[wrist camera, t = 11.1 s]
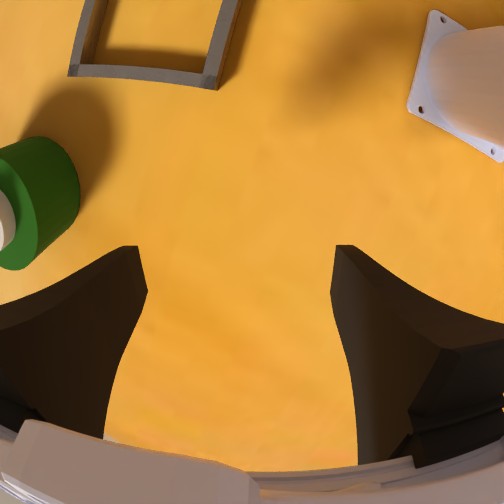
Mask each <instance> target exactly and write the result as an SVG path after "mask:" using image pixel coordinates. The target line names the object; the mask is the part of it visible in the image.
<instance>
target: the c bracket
mask: <svg viewBox="0 0 504 504" xmlns="http://www.w3.org/2000/svg"><path fill="white" fill-rule="evenodd" d="M107 3H108V0H85V3H84V7H83V10H82V13H81V17H80V21H79V24H78V28H77V32H76V37H75V41H74V45H73V50H72V55H71V60H70V65H69V70H68V76H67V77H107V78H123V79H136V80H146V81H155V82H164V83H172V84H179V85H186V86H192V87H199V88H205V89H210V90H218V87H219V83H220V79H221V75H222V71H223V67H224V64H225V60H226V56H227V52H228V48H229V45H230V41H231V37H232V34H233V30H234V27H235V23H236V20H237V17H238V13H239V10H240V6H241V3H242V0H223V1H222V5H221V8H220V11H219V14H218V18H217V21H216V25H215V28H214V32H213V35H212V39H211V43H210V46H209V50H208V54H207V58H206V62H205V66H204V70H203V74H199V73H193V72H186V71H178V70H170V69H161V68H151V67H139V66H124V65H96V64H92V62H93V58H94V53H95V48H96V44H97V40H98V36H99V32H100V28H101V24H102V20H103V16H104V13H105V9H106V6H107Z"/></svg>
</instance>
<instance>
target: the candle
mask: <svg viewBox="0 0 504 504" xmlns="http://www.w3.org/2000/svg"><path fill="white" fill-rule="evenodd" d="M79 206H80V184H79V180H78V176H77V172H76V170H75V167H74V165H73V163H72V161H71V159H70V157H69V156H68V154H67V153H66V152H65V151H64V149H63V148H62V147H61V146H59V145H58V144H57V143H56V142H54V141H52V140H50V139H48V138H45V137H40V136H38V137H31V138H28V139H25V140H22V141H19V142H16V143H14V144H11V145H8V146H6V147H3V148H1V149H0V266H1V267H3V268H5V269H8V270H21V269H23V268H25V267H26V266H28V265H29V264H30V263H31V262H32V261H33V260H34V259H35V258H36V257H37V256H38V255H39V254H41V253H42V252H43V251H44V250H45V249H46V248H47V247H48V246H49V245H50V244H51V243H52V242H54V241H55V240H56V239H57V238H58V237H59V236H60V235H61V234H63V233H64V232H65V231H66V230H67V229H68V228H69V227H70V226H71V225H72V223H73V222H74V220H75V218H76V216H77V214H78V210H79Z"/></svg>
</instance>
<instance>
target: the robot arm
mask: <svg viewBox="0 0 504 504" xmlns="http://www.w3.org/2000/svg"><path fill="white" fill-rule="evenodd" d="M440 17H441V18H442V19H443V20H444V23H443V22H441V20H440ZM419 106H421V107H422V112H421V113H420V112H419V111H418V108H419ZM406 107H407V110H408V111H409V112H410V113H412V114H414V115H416V116H418V117H420V118H422V119H424V120H426V121H428V122H430V123H432V124H434V125H436V126H438V127H440V128H441V129H443V130H445V131H447V132H449V133H451V134H452V135H454V136H456V137H458V138H459V139H461V140H463V141H465V142H466V143H468V144H470V145H471V146H473V147H475V148H476V149H478V150H479V151H481V152H483V153H484V154H486V155H487V156H489V157H490V158H492V159H494V160H495V161H497V162H499V163H502V162H503V161H504V25H502V26H494V27H486V28H479V29H473V30H468V29H466V28H465V27H463V26H462V25H460V24H459V23H457V22H456V21H454V20H453V19H451V18H449V17H448V16H446V15H445V14H443V13H441V12H440V11H438V10H431V11H430V12H429V14H428V19H427V24H426V29H425V33H424V38H423V42H422V47H421V51H420V55H419V59H418V63H417V67H416V71H415V75H414V79H413V82H412V86H411V89H410V93H409V97H408V100H407V104H406ZM491 149H492V153H491ZM147 293H148V289H147V285H146V281H145V277H144V272H143V268H142V263H141V259H140V254H139V249H138V246H122V247H119V248H117V249H115V250H113V251H111V252H109V253H107V254H106V255H104V256H102V257H100V258H99V259H97V260H95V261H94V262H92V263H90V264H89V265H87V266H85V267H84V268H82V269H80V270H78V271H77V272H75V273H73V274H71V275H70V276H68V277H66V278H64V279H63V280H61V281H59V282H57V283H55V284H53V285H51V286H49V287H47V288H45V289H42V290H40V291H38V292H36V293H33V294H31V295H28V296H25V297H23V298H20V299H18V300H15V301H12V302H9V303H6V304H3V305H0V488H1V489H3V490H4V491H6V492H7V493H9V494H11V495H12V496H14V497H15V498H17V499H19V500H21V501H22V502H24V503H25V504H503V503H504V412H503V410H502V408H504V396H503V393H504V324H503V323H499V322H495V321H491V320H487V319H483V318H480V317H477V316H475V315H472V314H469V313H466V312H463V311H461V310H458V309H456V308H453V307H451V306H449V305H447V304H444V303H442V302H440V301H438V300H436V299H434V298H432V297H430V296H428V295H426V294H424V293H423V292H421V291H419V290H417V289H415V288H414V287H412V286H411V285H409V284H407V283H406V282H404V281H403V280H401V279H400V278H398V277H397V276H395V275H394V274H392V273H391V272H390V271H388V270H387V269H385V268H384V267H383V266H381V265H380V264H379V263H377V262H376V261H375V260H373V259H372V258H371V257H369V256H368V255H367V254H365V253H364V252H363V251H361V250H360V249H358V248H357V247H355V246H353V245H336V251H335V259H334V267H333V275H332V282H331V289H330V295H331V302H332V308H333V314H334V318H335V321H336V325H337V328H338V332H339V335H340V338H341V342H342V345H343V348H344V352H345V355H346V359H347V362H348V366H349V371H350V376H351V382H352V389H353V397H354V405H355V415H356V427H357V443H358V465H357V466H350V467H342V468H333V469H322V470H309V471H288V472H246V471H243V470H240V469H237V468H234V467H231V466H228V465H226V464H223V463H220V462H217V461H212V460H206V459H201V458H196V457H191V456H186V455H181V454H174V453H167V452H161V451H155V450H149V449H143V448H138V447H133V446H128V445H124V444H119V443H115V442H111V441H107V440H103V434H104V426H105V420H106V414H107V408H108V403H109V399H110V394H111V390H112V386H113V382H114V379H115V375H116V372H117V368H118V365H119V362H120V360H121V357H122V355H123V353H124V350H125V348H126V346H127V344H128V341H129V339H130V337H131V335H132V333H133V330H134V328H135V326H136V324H137V322H138V319H139V317H140V315H141V313H142V310H143V306H144V303H145V300H146V296H147Z"/></svg>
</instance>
